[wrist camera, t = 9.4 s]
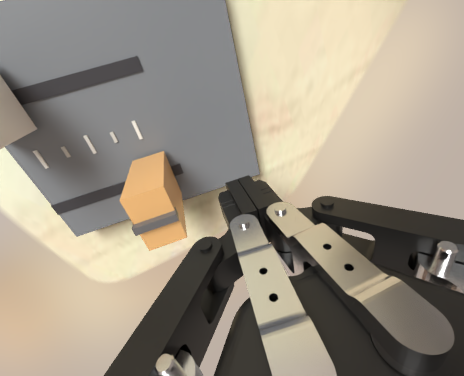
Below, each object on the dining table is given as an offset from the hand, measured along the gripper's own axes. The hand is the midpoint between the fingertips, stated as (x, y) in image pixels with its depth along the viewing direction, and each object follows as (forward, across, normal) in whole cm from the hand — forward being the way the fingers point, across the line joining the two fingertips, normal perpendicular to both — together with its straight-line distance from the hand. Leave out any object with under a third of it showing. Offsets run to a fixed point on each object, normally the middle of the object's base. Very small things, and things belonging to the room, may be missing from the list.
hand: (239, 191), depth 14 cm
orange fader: (+6, +5, 0) cm, 8 cm away
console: (+9, +5, -5) cm, 11 cm away
